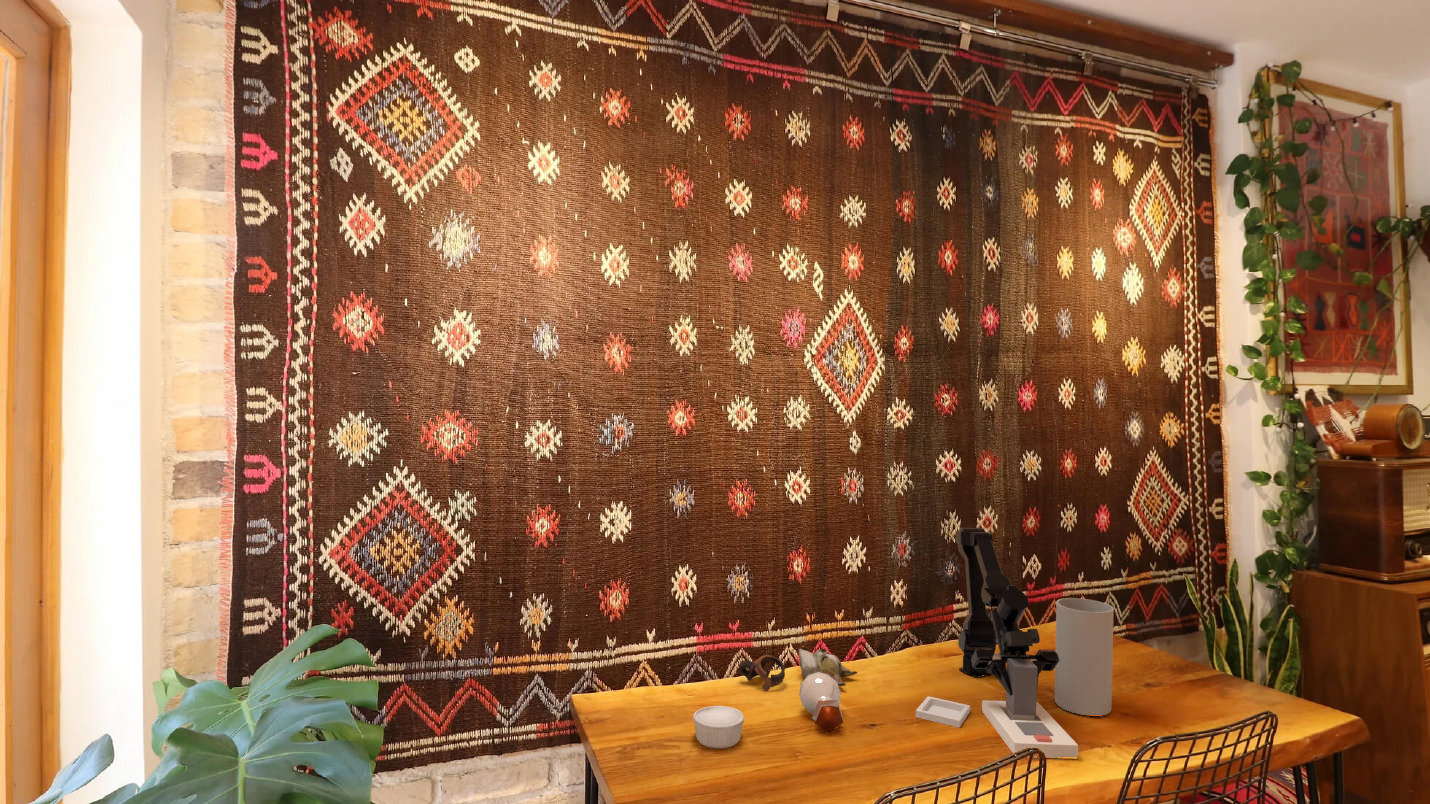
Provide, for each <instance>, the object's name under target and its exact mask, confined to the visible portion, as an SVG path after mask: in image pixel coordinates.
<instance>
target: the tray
mask: <svg viewBox="0 0 1430 804" xmlns="http://www.w3.org/2000/svg"><path fill="white" fill-rule="evenodd" d="M970 712H971V705H970V704H969V705H968V704H965V703H960V702H955V701H951V700H946V699H943V698H937V697H933V696H926V698H925V699H924V700H923V701H922V703H921V704H920V705H919V706H918V707H917V708H916V709H915V718H917V719H921V720H926V721H930V722H935V723H939V724H941V725H948V726H951V727H956V728H961V726H962V724H963V723H964V722H965V721H966V718H967V717H968V716H969V715H970Z"/></svg>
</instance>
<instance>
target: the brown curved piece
mask: <svg viewBox="0 0 1430 804" xmlns="http://www.w3.org/2000/svg"><path fill="white" fill-rule="evenodd" d="M771 661H773V662H774V663H775V665H776V666H778V667H780V669H781V670H780V672H779V673H778V674H770V673H771V670H770V669H767V668H765V666H766V664H767V663H771ZM785 668H786V667H785V665H784V663H783V661H782V660H781V659H780V658H779V657H777V656H774V655H770V654H764V655H761V656H760V657H759V658H757V659H755V660H754V661H751V660H749V659H748V660H747V659H744V660H741V662H739V664H738V670H739V672H740V673H741V676H744V677H745V678H746V680H747V681H748V682H750V681H752V680H753V678H756V677H759V678H760V679H761V680H763V684H762V686H761V688H762V690H764V691H766V692H767V691H769V690H770V689H771V688H773V687H776V686H778V685H780V684H781V683H783V680H784V679H785V677H786V675H785V674H786V672H785V670H786V669H785ZM769 675H770V677H769Z"/></svg>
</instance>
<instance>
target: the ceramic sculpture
mask: <svg viewBox="0 0 1430 804" xmlns="http://www.w3.org/2000/svg"><path fill="white" fill-rule="evenodd" d="M798 664H799V667H800V670H801V671H800V672H801V676H802V678H804V679H805V678H806V677H807V676H808V675H810V674H813V673H817V672H821V673H824V674H827V675H829V676H830V677H832V678H833V679H834V680H835V681H836V682H837V683H838V686H839V687H844V686H846V683H845V682H844V681H843V679H842V678H848V677H851V676H854V675H857V674H858V671H856V670H854V671H851V670H850V669H848V668H846V666H844V665H842V662H841V660H840V659H839V657H838V656H837V655H835V654H832V653H830V652H827V649H826V648H820V649H817V650H816V651H815V652H813V653H812V652H810V651H809V650H804V649H802V648H799V649H798Z"/></svg>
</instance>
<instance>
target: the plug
mask: <svg viewBox="0 0 1430 804" xmlns="http://www.w3.org/2000/svg"><path fill="white" fill-rule="evenodd" d="M1037 669H1038V668H1037V667H1036V666H1035V665H1034V664H1033V663H1032V662H1031V661H1030V660H1029V659H1007V663H1006V671H1007V674H1008V677H1009V681H1010V684H1011V688H1012V695H1011V696H1010V695H1009V694H1008V692H1007V691H1006V690H1005V701H1006V706H1007V715H1008V717H1009V718H1010V719H1011V720H1028V721H1034V720H1035V716H1036V702H1037V699H1038V698H1037V693H1038V686H1037Z"/></svg>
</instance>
